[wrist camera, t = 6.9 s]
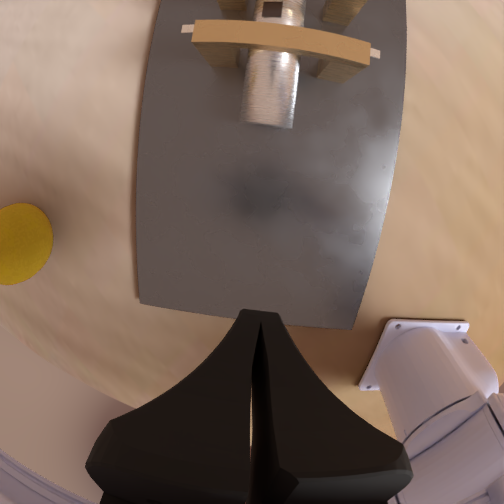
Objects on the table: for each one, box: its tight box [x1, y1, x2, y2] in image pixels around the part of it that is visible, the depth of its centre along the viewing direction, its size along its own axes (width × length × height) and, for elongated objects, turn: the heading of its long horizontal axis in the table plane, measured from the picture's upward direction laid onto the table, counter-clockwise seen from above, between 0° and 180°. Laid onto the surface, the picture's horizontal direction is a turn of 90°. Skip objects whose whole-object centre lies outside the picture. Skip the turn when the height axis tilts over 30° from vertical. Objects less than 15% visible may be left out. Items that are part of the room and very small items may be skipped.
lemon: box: [0, 203, 53, 285], centre depth 15 cm, size 6×6×8 cm
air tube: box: [239, 0, 306, 129], centre depth 12 cm, size 13×3×3 cm, turn 174°
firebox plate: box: [136, 0, 407, 330], centre depth 14 cm, size 16×25×5 cm, turn 173°
